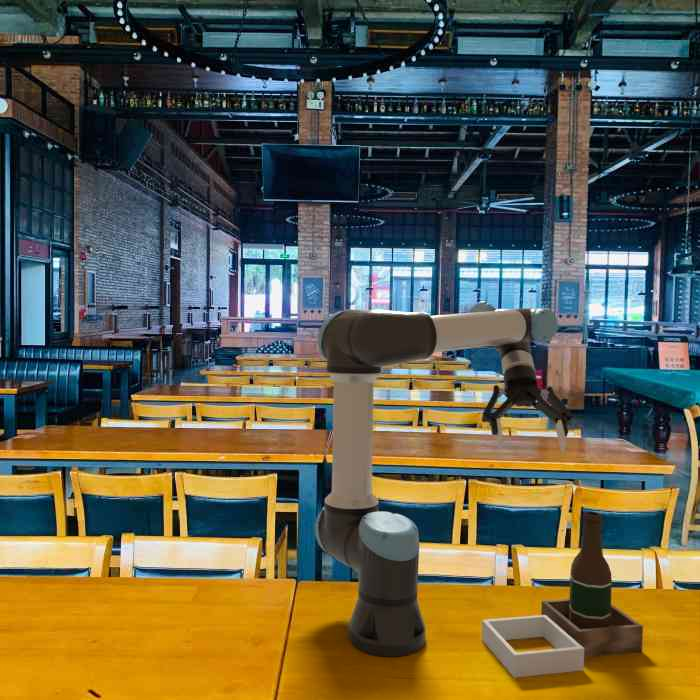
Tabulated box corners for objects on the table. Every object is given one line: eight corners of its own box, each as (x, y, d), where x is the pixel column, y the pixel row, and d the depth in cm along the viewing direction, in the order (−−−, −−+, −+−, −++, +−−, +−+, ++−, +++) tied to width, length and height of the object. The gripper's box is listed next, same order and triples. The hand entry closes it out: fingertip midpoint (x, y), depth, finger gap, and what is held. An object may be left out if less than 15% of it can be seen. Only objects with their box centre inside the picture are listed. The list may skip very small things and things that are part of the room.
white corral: (513, 677, 110) (514, 655, 110) (481, 640, 123) (482, 620, 123) (583, 670, 113) (584, 648, 113) (544, 634, 126) (545, 614, 126)
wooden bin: (578, 658, 117) (578, 631, 117) (541, 624, 130) (541, 600, 130) (642, 651, 120) (642, 626, 120) (599, 619, 133) (600, 596, 133)
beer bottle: (572, 620, 131) (575, 505, 130) (612, 629, 127) (616, 511, 126) (564, 635, 124) (568, 515, 123) (606, 646, 120) (610, 521, 119)
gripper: (567, 385, 154) (585, 458, 140) (465, 382, 155) (472, 454, 141) (575, 364, 149) (594, 438, 134) (469, 362, 150) (477, 435, 135)
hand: (532, 446), depth 137 cm, fingers open, 13 cm apart
